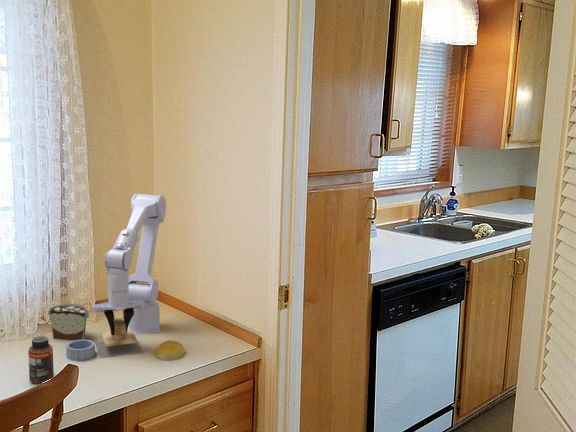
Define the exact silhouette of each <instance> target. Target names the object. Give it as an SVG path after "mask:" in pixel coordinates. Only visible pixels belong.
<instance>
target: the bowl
mask: <svg viewBox="0 0 576 432" xmlns="http://www.w3.org/2000/svg"><path fill="white" fill-rule="evenodd" d="M95 347H96V344H95V341H93V340H90V339H85V338H84V339H83V340H75V341H73V340H70V342H68V343H66V344H65V350H66V352H65V355H66V359H68V360H70V361H75V362H76V361H77V362H79V361H85V360H86V361H87V360H89V359H92V358H93V357H95V355H96V352H95V351H96V348H95Z"/></svg>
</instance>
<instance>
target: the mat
mask: <svg viewBox="0 0 576 432" xmlns="http://www.w3.org/2000/svg"><path fill="white" fill-rule="evenodd" d="M94 344H95V347H96V350H97V352H98V355H99V357H100V359H105V358H106V359H107V358H114V357H115V358H116V357H121V356H122V357H123V356H128V355H129V356H130V355H139V354H144V352H143V350H142V349H141V346H140V345H139V342H138V341H137V343H131V344H123V345H114V346H106V347H105V344H104V342H103V341H97V342H95V341H94Z"/></svg>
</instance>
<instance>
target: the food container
mask: <svg viewBox="0 0 576 432" xmlns="http://www.w3.org/2000/svg"><path fill="white" fill-rule="evenodd" d="M47 315H48V316H50V326H51V333H52V339H53V340H62V341H63V340H64V341H75V340H83V339H84V340H85V339H86V337H85V336H86V327H87V319H88V318H89V317H90V312H89V310H88V307H87V306H85V305H82V304H77V303H68V304H67V303H64V304H57V305H54V306H51V307H50V308H49V310H48V313H47Z"/></svg>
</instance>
